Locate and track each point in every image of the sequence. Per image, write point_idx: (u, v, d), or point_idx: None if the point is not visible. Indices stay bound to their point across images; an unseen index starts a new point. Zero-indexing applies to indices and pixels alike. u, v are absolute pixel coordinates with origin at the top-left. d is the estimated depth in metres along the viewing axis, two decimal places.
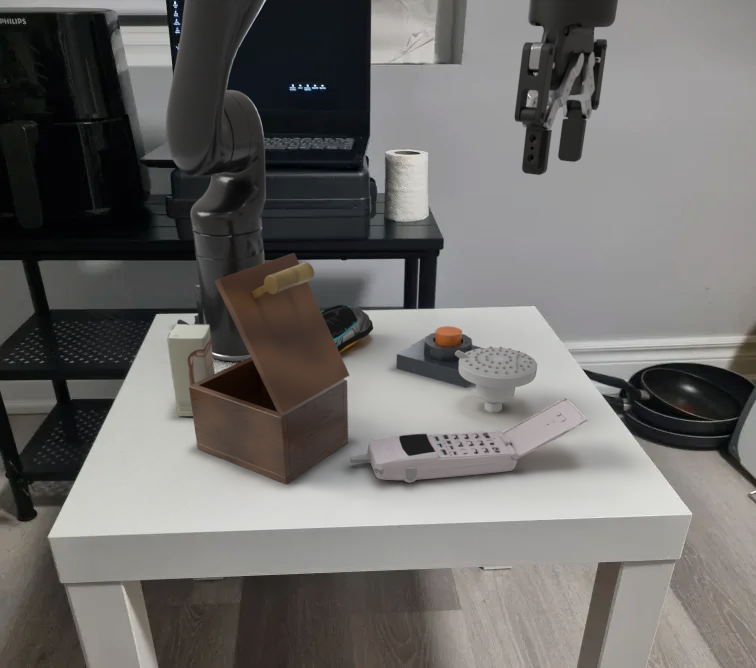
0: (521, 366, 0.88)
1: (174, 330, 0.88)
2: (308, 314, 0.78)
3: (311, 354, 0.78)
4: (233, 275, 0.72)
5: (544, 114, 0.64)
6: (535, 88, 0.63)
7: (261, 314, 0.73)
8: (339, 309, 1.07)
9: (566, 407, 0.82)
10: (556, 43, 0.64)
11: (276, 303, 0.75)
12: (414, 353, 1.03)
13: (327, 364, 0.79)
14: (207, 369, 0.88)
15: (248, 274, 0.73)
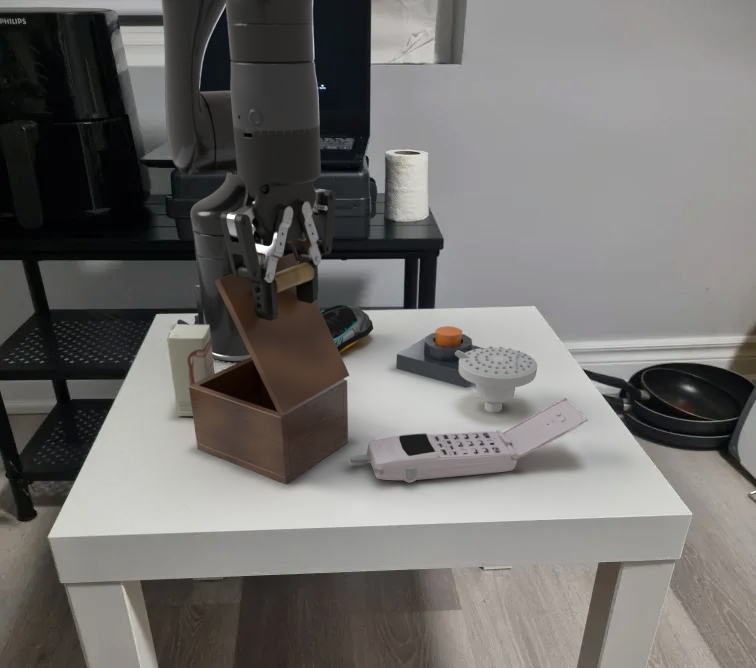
0: (521, 366, 0.88)
1: (174, 330, 0.88)
2: (308, 314, 0.78)
3: (311, 354, 0.78)
4: (233, 275, 0.72)
5: (257, 273, 0.67)
6: (241, 253, 0.66)
7: None
8: (339, 309, 1.07)
9: (566, 407, 0.82)
10: (255, 204, 0.66)
11: None
12: (414, 353, 1.03)
13: (327, 364, 0.79)
14: (207, 369, 0.88)
15: None
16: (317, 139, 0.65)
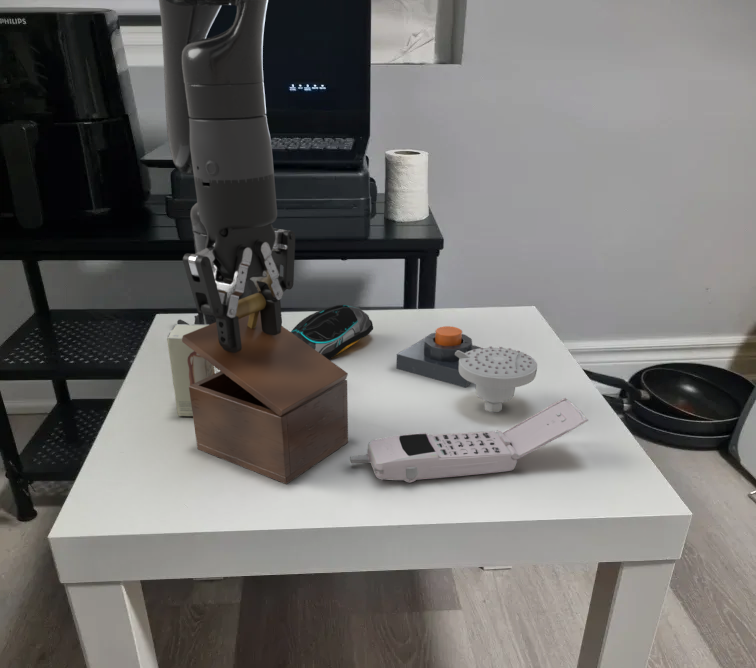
0: (521, 366, 0.88)
1: (174, 330, 0.88)
2: (284, 341, 0.82)
3: (298, 366, 0.79)
4: (196, 330, 0.78)
5: (218, 309, 0.72)
6: (203, 292, 0.71)
7: None
8: (339, 309, 1.07)
9: (566, 407, 0.82)
10: (215, 246, 0.71)
11: (248, 340, 0.80)
12: (414, 353, 1.03)
13: (318, 370, 0.80)
14: (207, 369, 0.88)
15: (211, 327, 0.79)
16: (271, 186, 0.70)
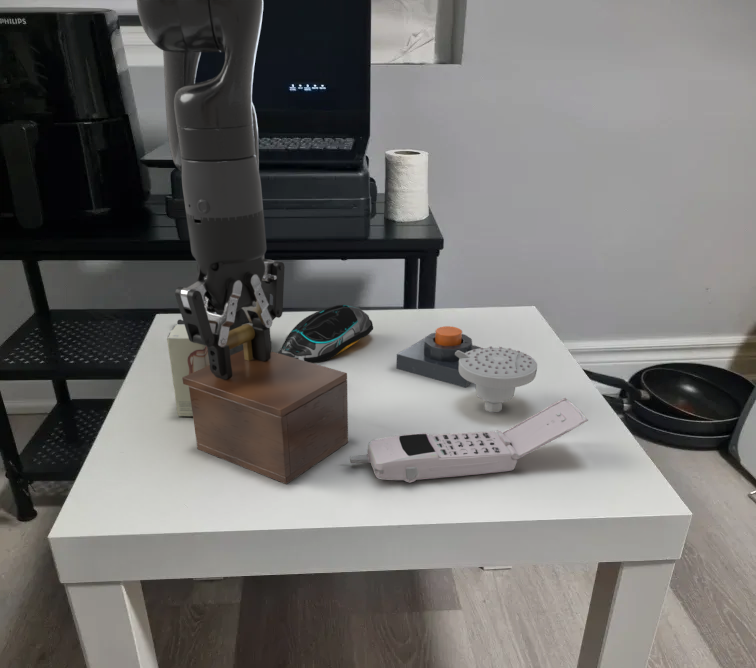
0: (521, 366, 0.88)
1: (174, 330, 0.88)
2: (281, 363, 0.84)
3: (296, 377, 0.80)
4: (195, 372, 0.81)
5: (210, 340, 0.75)
6: (194, 323, 0.74)
7: (231, 377, 0.80)
8: (339, 309, 1.07)
9: (566, 407, 0.82)
10: (206, 280, 0.73)
11: (245, 369, 0.82)
12: (414, 353, 1.03)
13: (317, 375, 0.81)
14: None
15: None
16: (261, 222, 0.73)
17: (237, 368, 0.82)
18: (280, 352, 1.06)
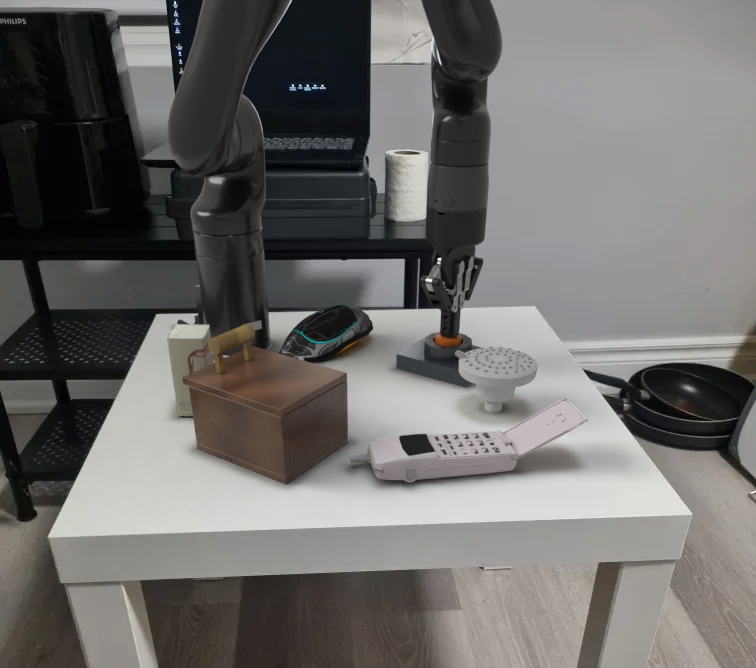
0: (521, 366, 0.88)
1: (174, 330, 0.88)
2: (281, 363, 0.84)
3: (296, 377, 0.80)
4: (195, 371, 0.81)
5: (449, 306, 0.96)
6: (437, 299, 0.95)
7: (231, 377, 0.80)
8: (339, 309, 1.07)
9: (566, 407, 0.82)
10: (441, 265, 0.93)
11: (245, 369, 0.82)
12: (414, 353, 1.03)
13: (317, 375, 0.81)
14: None
15: (210, 367, 0.83)
16: (486, 214, 0.92)
17: (237, 368, 0.82)
18: (280, 352, 1.06)
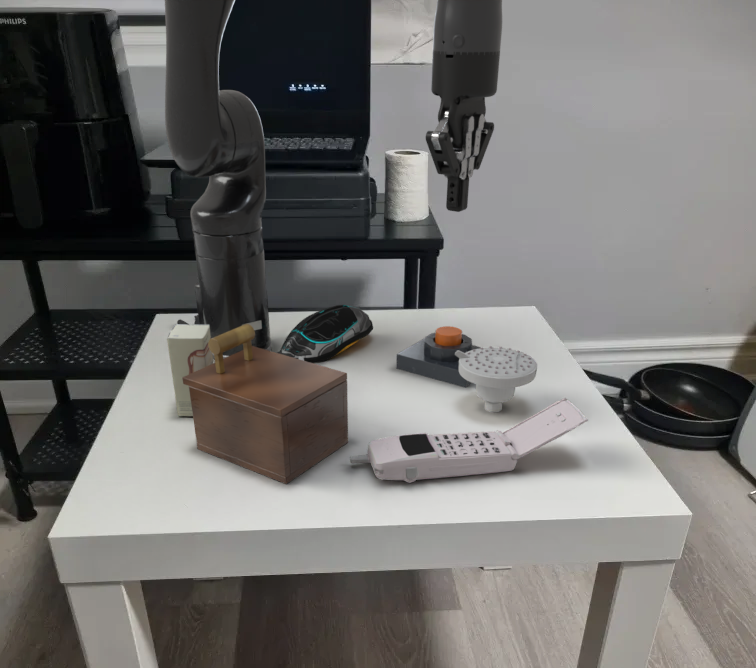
0: (521, 366, 0.88)
1: (174, 330, 0.88)
2: (281, 363, 0.84)
3: (296, 377, 0.80)
4: (195, 371, 0.81)
5: (457, 170, 0.88)
6: (444, 160, 0.86)
7: (231, 377, 0.80)
8: (339, 309, 1.07)
9: (566, 407, 0.82)
10: (448, 118, 0.84)
11: (245, 369, 0.82)
12: (414, 353, 1.03)
13: (317, 375, 0.81)
14: None
15: (210, 367, 0.83)
16: (498, 61, 0.83)
17: (237, 368, 0.82)
18: (280, 352, 1.06)
